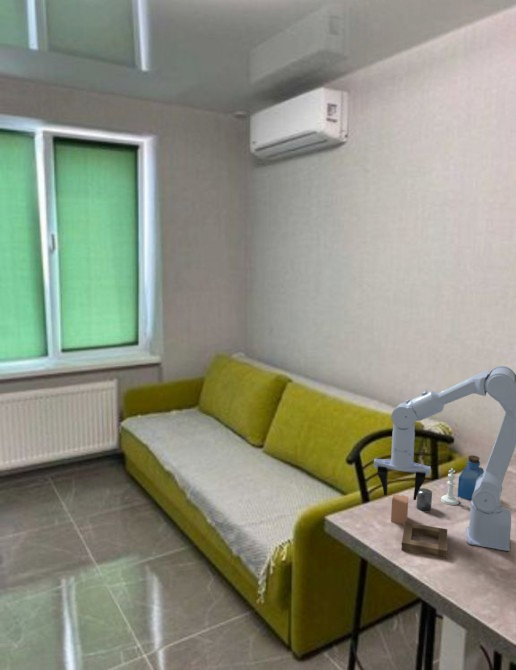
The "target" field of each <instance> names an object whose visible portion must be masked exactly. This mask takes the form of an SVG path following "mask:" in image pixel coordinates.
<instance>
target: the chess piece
mask: <svg viewBox="0 0 516 670" xmlns="http://www.w3.org/2000/svg"><path fill="white" fill-rule="evenodd" d="M455 473H456V470H454V469H453V468H452V467H451V468H450V469H449V470H448V474H447V477H448V481H447V482H446V483H447V485H448V489H447V494H445V495H442V496H441V498H440V501H441V502H442V503H443V504H444V505H445V504H446V505H450V506H456V505H459V503H460V501H459V497H458V496H455V495H454V489H453V488H454V487H453V486H455V485H456V482H454V479H455V478H456V475H455Z"/></svg>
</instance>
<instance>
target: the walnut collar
mask: <svg viewBox="0 0 516 670" xmlns="http://www.w3.org/2000/svg"><path fill="white" fill-rule="evenodd" d="M413 535H414V536H419V537H420V536H421V537H425V538H430V539H437V540H438V542H437V544H436V543H430V542H424V541H419V540H414V539H413ZM401 539H402V540H401V549H400V550H401V551H404V552H409V553H415V554H418V555H419V554H420V555H424V556H430V557H435V558H439V559H440V558H442V559H448V529H447V528H441V527H438V526H437V527H435V526H429V525H425V524H418V523H414V522H413V523H412V522H408V521H407V522H405V524H404V526H403V533H402V538H401Z"/></svg>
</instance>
